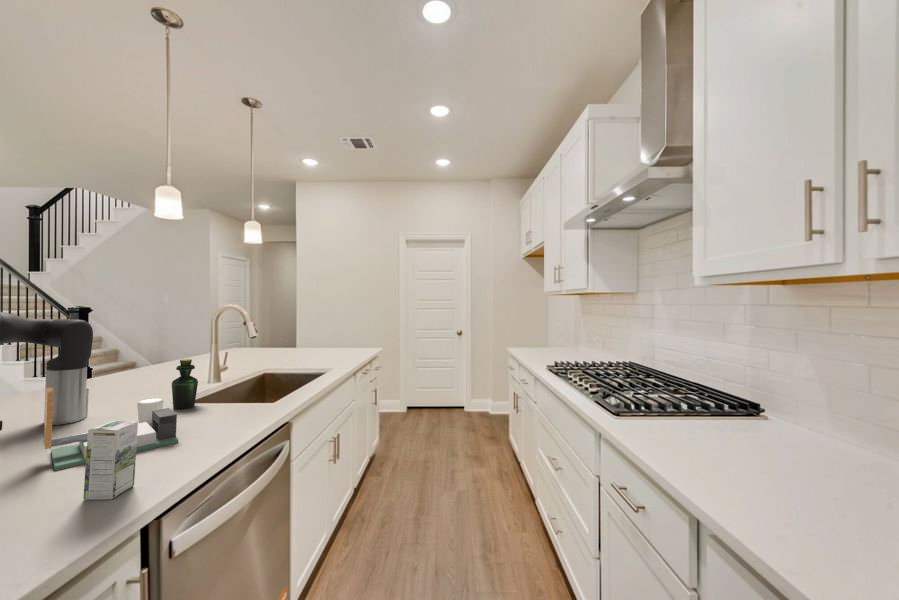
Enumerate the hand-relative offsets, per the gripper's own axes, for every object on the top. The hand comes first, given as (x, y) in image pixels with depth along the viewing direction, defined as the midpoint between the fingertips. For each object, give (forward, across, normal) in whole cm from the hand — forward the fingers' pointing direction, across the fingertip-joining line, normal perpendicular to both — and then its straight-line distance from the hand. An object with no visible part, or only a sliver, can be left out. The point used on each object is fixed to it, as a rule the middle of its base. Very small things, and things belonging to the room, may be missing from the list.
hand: (2, 425), depth 83 cm
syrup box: (+15, -29, +11) cm, 35 cm away
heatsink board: (+20, 0, +11) cm, 23 cm away
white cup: (+31, +20, +11) cm, 39 cm away
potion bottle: (+43, +31, +11) cm, 54 cm away
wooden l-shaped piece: (+13, 0, +7) cm, 15 cm away
